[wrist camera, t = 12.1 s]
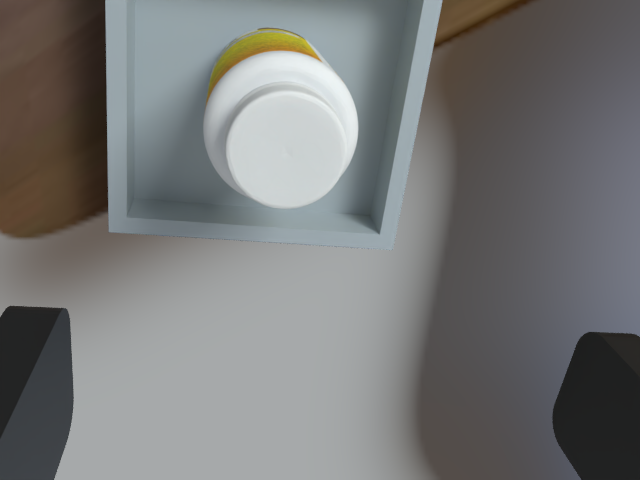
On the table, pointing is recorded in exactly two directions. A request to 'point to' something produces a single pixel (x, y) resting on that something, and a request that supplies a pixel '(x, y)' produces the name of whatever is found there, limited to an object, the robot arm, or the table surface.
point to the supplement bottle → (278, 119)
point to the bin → (190, 101)
